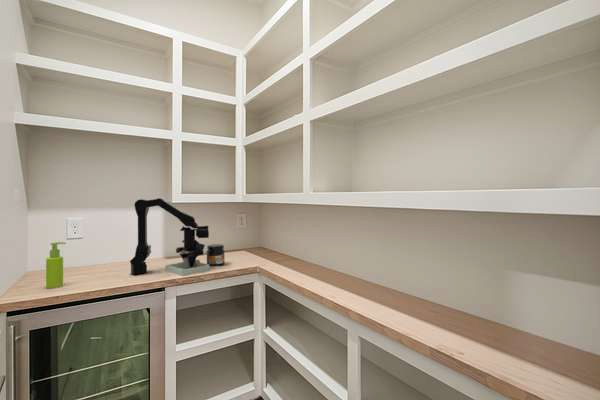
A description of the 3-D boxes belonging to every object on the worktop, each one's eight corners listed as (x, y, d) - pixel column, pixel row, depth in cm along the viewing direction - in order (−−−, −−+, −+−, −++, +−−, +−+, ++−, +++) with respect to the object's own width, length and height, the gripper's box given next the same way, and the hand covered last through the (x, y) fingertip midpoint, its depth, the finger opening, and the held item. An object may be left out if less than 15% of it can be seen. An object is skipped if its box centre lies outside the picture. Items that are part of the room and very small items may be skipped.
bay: (182, 277, 143) (182, 270, 143) (165, 271, 155) (164, 265, 155) (209, 271, 155) (209, 264, 155) (191, 266, 167) (191, 260, 167)
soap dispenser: (66, 285, 129) (66, 242, 129) (46, 289, 124) (46, 244, 125) (65, 283, 133) (65, 241, 134) (45, 286, 129) (45, 242, 129)
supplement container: (220, 267, 164) (220, 246, 164) (203, 267, 165) (203, 246, 165) (227, 263, 175) (227, 244, 175) (211, 263, 176) (211, 243, 176)
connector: (187, 270, 153) (187, 259, 153) (183, 268, 156) (183, 258, 156) (200, 267, 159) (200, 256, 159) (196, 266, 162) (196, 255, 162)
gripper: (211, 238, 157) (211, 266, 157) (193, 235, 168) (193, 261, 168) (193, 240, 148) (193, 270, 148) (175, 237, 160) (175, 265, 160)
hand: (189, 266), depth 156 cm, fingers closed on connector, 4 cm apart
